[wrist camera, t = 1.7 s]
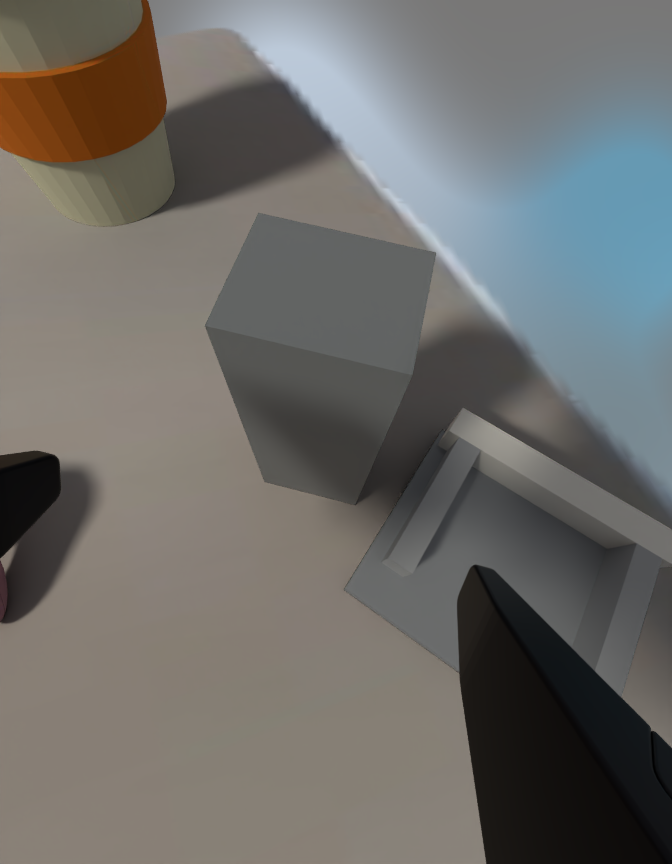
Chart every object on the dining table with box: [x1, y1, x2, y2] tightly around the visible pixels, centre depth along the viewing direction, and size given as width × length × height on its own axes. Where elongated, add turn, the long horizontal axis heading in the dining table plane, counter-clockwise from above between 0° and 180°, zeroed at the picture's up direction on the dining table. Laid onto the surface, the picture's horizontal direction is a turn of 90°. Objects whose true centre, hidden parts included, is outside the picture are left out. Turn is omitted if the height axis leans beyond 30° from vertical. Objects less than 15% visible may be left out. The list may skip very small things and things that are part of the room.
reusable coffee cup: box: [0, 0, 175, 226], centre depth 23 cm, size 13×12×15 cm
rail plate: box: [344, 408, 672, 697], centre depth 19 cm, size 11×12×3 cm
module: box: [205, 213, 436, 505], centre depth 16 cm, size 4×5×13 cm
